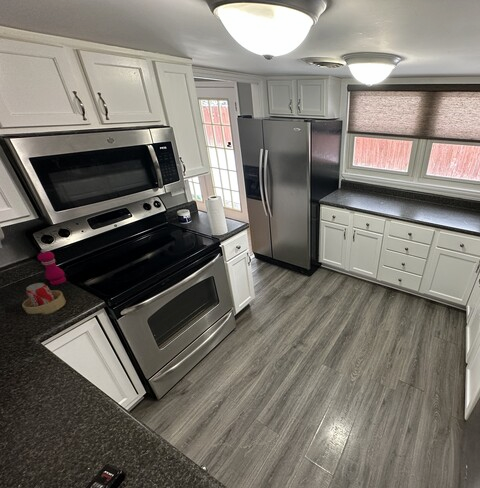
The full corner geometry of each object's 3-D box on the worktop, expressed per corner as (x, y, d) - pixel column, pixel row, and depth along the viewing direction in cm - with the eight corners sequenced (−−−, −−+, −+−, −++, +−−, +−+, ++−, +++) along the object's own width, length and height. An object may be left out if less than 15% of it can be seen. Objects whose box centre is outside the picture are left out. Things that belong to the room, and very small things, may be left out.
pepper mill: (65, 276, 148) (49, 245, 139) (69, 281, 145) (53, 249, 136) (47, 282, 143) (30, 249, 134) (51, 287, 139) (34, 254, 130)
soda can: (55, 308, 124) (44, 287, 118) (34, 314, 120) (22, 292, 115) (58, 300, 129) (47, 280, 123) (38, 305, 125) (26, 284, 120)
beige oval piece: (36, 321, 117) (31, 311, 114) (21, 312, 121) (16, 302, 119) (72, 304, 128) (68, 294, 125) (57, 296, 132) (52, 287, 130)
